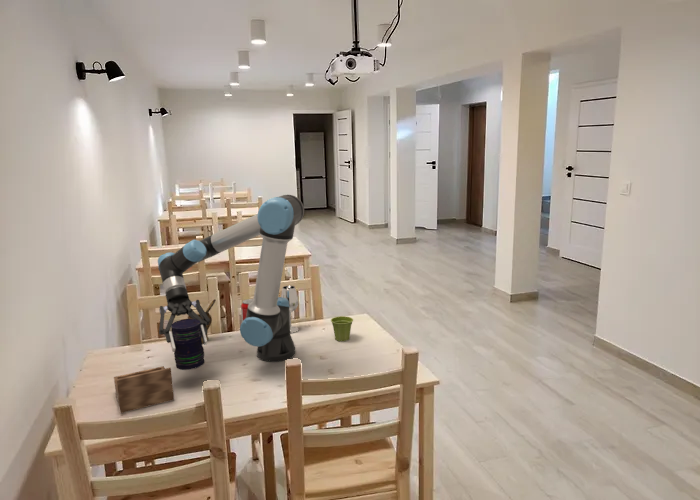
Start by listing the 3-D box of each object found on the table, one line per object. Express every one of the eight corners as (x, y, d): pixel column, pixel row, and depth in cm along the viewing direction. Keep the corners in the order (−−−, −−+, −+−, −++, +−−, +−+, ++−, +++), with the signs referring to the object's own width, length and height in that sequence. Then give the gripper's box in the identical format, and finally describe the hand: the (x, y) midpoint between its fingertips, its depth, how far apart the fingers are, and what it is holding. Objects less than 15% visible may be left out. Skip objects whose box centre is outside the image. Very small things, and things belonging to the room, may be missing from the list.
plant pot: (333, 334, 216) (332, 315, 215) (354, 335, 215) (354, 316, 213) (329, 342, 207) (329, 323, 206) (351, 343, 206) (351, 323, 204)
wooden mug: (218, 343, 209) (215, 302, 205) (184, 346, 206) (180, 304, 203) (219, 335, 217) (216, 296, 214) (187, 338, 215) (183, 298, 211)
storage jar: (176, 372, 167) (171, 330, 164) (174, 361, 176) (169, 321, 173) (207, 366, 171) (202, 325, 168) (203, 356, 180) (199, 316, 177)
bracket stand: (165, 380, 176) (162, 351, 174) (174, 399, 162) (171, 368, 160) (115, 392, 168) (112, 361, 166) (120, 413, 154) (116, 380, 152)
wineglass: (279, 333, 219) (277, 289, 215) (284, 326, 227) (282, 284, 223) (296, 333, 218) (294, 290, 214) (301, 327, 225) (299, 285, 221)
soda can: (239, 333, 219) (237, 301, 216) (253, 328, 225) (251, 297, 222) (249, 338, 214) (247, 304, 211) (264, 333, 220) (262, 300, 216)
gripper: (206, 291, 188) (221, 344, 178) (142, 302, 177) (155, 358, 167) (208, 281, 182) (224, 334, 172) (143, 291, 171) (155, 349, 161)
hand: (190, 346), depth 169 cm, fingers closed on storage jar, 10 cm apart
